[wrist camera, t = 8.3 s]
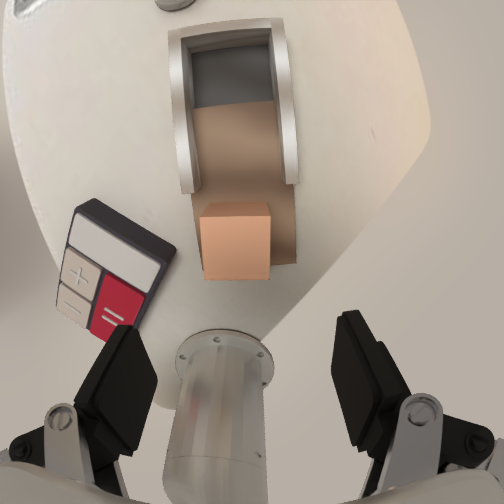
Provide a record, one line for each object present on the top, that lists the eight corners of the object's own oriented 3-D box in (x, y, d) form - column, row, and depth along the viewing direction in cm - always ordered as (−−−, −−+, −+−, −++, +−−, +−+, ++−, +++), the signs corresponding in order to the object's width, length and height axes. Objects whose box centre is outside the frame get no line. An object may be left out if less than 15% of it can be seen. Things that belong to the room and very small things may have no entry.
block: (266, 254, 26) (269, 279, 21) (212, 255, 26) (204, 280, 21) (266, 201, 24) (270, 216, 19) (209, 202, 24) (199, 217, 19)
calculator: (52, 310, 26) (70, 207, 21) (68, 292, 30) (93, 195, 25) (123, 357, 29) (166, 266, 23) (134, 334, 33) (178, 247, 27)
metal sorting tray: (294, 256, 27) (301, 277, 23) (205, 264, 28) (197, 285, 23) (277, 37, 19) (282, 17, 15) (181, 47, 19) (168, 30, 15)
